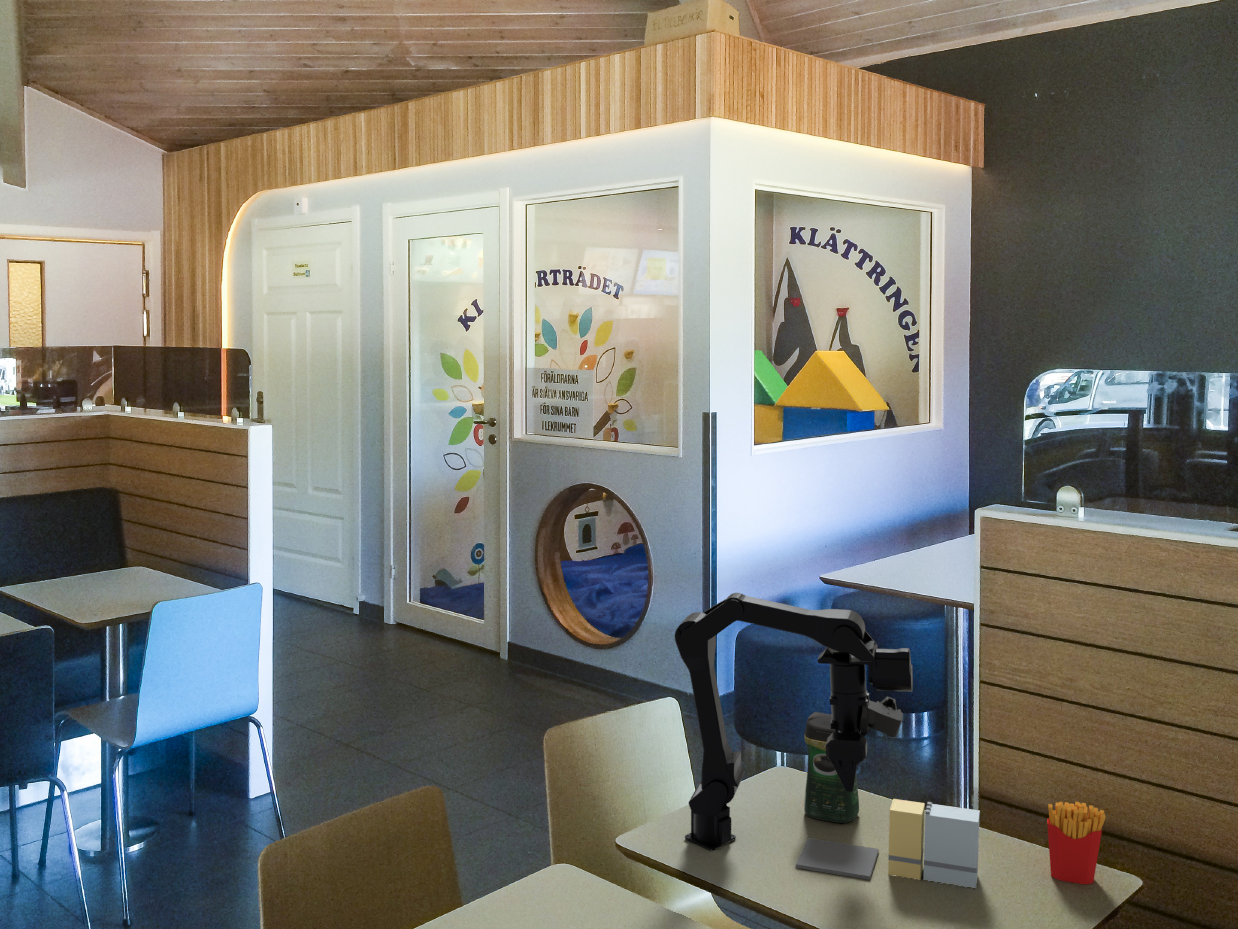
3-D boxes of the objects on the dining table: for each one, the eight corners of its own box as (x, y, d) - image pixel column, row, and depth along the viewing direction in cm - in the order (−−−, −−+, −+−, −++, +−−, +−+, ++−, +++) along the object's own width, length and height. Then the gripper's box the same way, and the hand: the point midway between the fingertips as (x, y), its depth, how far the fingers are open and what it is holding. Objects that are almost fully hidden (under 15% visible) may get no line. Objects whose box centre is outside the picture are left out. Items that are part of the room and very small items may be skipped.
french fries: (1045, 878, 177) (1048, 806, 176) (1045, 867, 181) (1048, 797, 179) (1102, 887, 174) (1106, 815, 173) (1101, 876, 178) (1105, 804, 176)
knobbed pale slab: (923, 880, 177) (925, 812, 176) (926, 867, 181) (927, 801, 180) (976, 889, 174) (978, 820, 173) (977, 875, 178) (979, 808, 177)
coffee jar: (863, 810, 203) (865, 712, 200) (851, 828, 196) (853, 727, 193) (811, 801, 207) (813, 705, 205) (798, 817, 200) (799, 718, 198)
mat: (795, 867, 182) (795, 864, 181) (807, 841, 191) (807, 837, 191) (870, 880, 177) (870, 876, 177) (878, 852, 187) (878, 848, 186)
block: (888, 875, 179) (889, 810, 178) (891, 862, 183) (893, 798, 182) (920, 880, 177) (922, 814, 176) (923, 867, 181) (924, 803, 180)
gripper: (897, 709, 171) (900, 806, 172) (900, 673, 188) (903, 761, 190) (823, 706, 174) (827, 802, 175) (834, 671, 191) (837, 758, 193)
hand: (851, 780), depth 183 cm, fingers open, 9 cm apart
